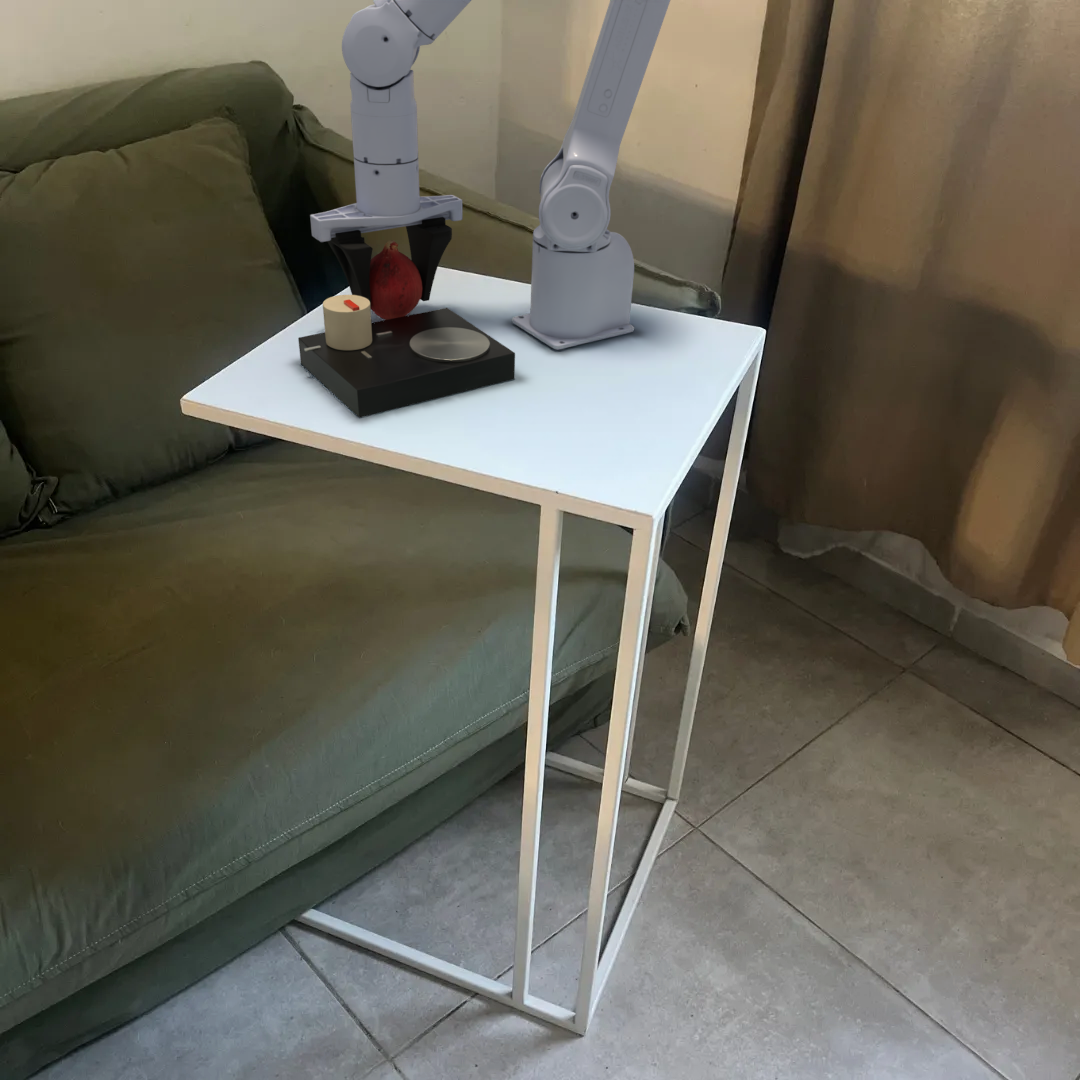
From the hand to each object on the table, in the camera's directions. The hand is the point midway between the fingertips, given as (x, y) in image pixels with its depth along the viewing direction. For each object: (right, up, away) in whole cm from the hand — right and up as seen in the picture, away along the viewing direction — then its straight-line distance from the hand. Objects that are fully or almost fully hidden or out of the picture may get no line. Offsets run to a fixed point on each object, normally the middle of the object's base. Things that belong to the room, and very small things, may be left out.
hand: (392, 303), depth 98 cm
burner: (+6, -6, -9) cm, 13 cm away
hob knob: (-2, -5, -9) cm, 11 cm away
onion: (0, -2, +1) cm, 2 cm away
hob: (+2, -8, -8) cm, 11 cm away
